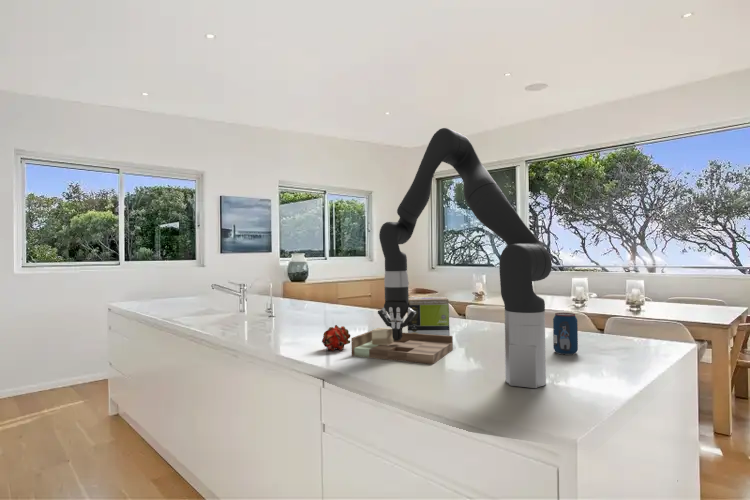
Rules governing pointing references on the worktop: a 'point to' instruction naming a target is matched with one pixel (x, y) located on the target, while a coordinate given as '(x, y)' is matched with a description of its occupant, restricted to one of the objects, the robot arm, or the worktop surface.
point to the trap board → (404, 347)
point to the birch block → (382, 336)
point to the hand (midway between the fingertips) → (397, 340)
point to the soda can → (565, 333)
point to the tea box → (429, 315)
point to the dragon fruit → (336, 338)
